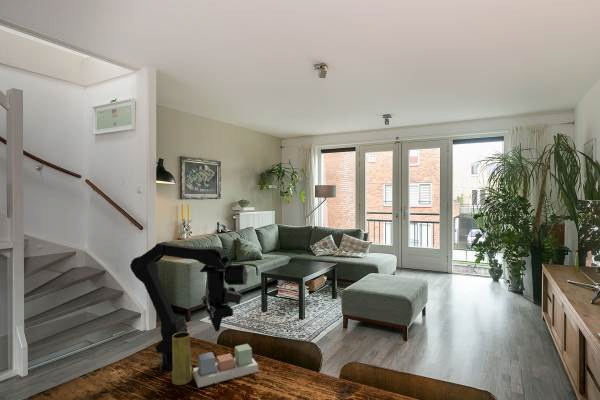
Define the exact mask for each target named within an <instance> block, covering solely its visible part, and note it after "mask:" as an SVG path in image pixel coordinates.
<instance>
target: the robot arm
mask: <svg viewBox="0 0 600 400" xmlns="http://www.w3.org/2000/svg"><path fill="white" fill-rule="evenodd" d="M164 256H166V257H172V258H179V259H187V260H194V261H197V262H198V263H201V264H203V265H204V266H203V267H202V268H201V269H200V270H199V272H200V273H206V287H205V291H206V292H207V293H206V294H205V295H203V296H202V298H201V305H202V306H203V307H204V306H206V305H207V308H205V311H206V313H207V316H208V319H209V321H210V322H211V324H212V325H211V326H213V330H214V331H215V332H219V331H220V328H221V323H222V320H223V319H224V318H230V317H233V316H234V309H233V308H232V307H231V306H230V305H229V303H232V304H233V303H234V304H236V305H240V303H241V300H242V297H243V294H241V293H240V292H238V291H236V288H235V287H232V286H246V284H247V282H248V271H247V267H246V263H240V264H239V263H238V264H233V263H232V262H231V260H230V259H229V257H228V256H227V255H226V251H225V249H224V247H222V246H220V245H219V246H218V245H217V246H216V245H215V246H202V247H200V246H199V247H197V246H192V245H182V244H176V243H175V244H174V243H168V242H166V241H164V242H163V241H162V242H159V243H156V245H154V246H153V247H152V248H150V250H148V251H146V252H145V253H144V254H141V255H139V256H137V257H134V258H133V259H132V260H131V263H130V264H129V266H130V269H131V272H132V273H133V275H134V276H135V278H136V279H137V280H138V281H140V282H142V284H143V285H144V288H145V289H146V292H147V294H148V297H149V299H150V301H151V303H152V306H153V307H154V310H155V312H156V315H157V316H158V319H159V321H160V335H161V341H160V342H158V344H157V345H156V346H155V351H156V352H157V354H158V353H159V354H160V360H161V361H159V367H160V371H161V372H165V371H170V370H173V353H172V336H173V335H174V334H176V333H179V332H188V327H189V326H188V325H187V323H186V322H185V319H184V317H183V316H181V317H178V316H177V315H176V314H175V312H174V310H173V308H172V305H171V303H170V301H169V299H168V296H167V295H166V293H165V290H164V287H163V285H162V283H161V280H160V278H159V266H158V262H159V261H161V259H163V257H164ZM225 284H227V285H228V286H229V287H228V288H227V287H226V285H225Z"/></svg>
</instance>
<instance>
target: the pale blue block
mask: <svg viewBox="0 0 600 400" xmlns="http://www.w3.org/2000/svg"><path fill="white" fill-rule="evenodd" d="M215 363H216V356H215V355H214V353H213V352H212V351H209V352H205V353H202V354H201V353H200V354H198V355H197V367H198V371H199V373H200V375H201V376H200V377H202V376H206V375H210V374H213V373H216V368H215Z"/></svg>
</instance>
